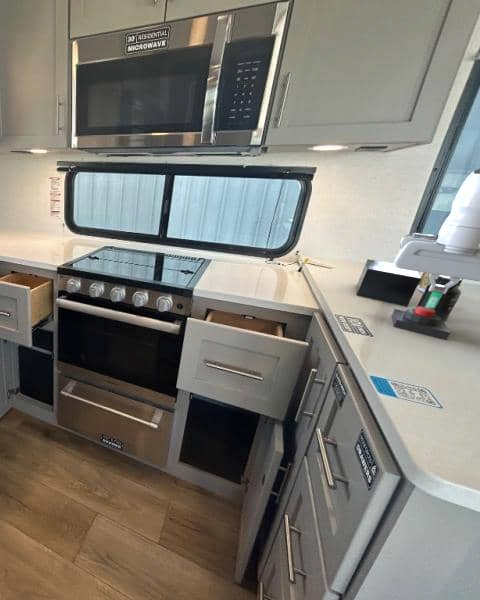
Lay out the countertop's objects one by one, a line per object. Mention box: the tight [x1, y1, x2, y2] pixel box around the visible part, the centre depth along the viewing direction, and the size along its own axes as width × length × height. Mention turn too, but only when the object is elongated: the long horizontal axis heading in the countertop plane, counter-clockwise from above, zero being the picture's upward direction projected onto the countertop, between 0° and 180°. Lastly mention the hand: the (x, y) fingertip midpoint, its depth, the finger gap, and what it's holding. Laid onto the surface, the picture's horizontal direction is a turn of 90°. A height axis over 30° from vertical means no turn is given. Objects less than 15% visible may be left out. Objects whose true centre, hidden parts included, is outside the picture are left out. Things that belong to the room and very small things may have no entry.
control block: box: [391, 308, 451, 341], centre depth 87 cm, size 10×10×4 cm
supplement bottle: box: [415, 275, 463, 321], centre depth 94 cm, size 7×7×12 cm
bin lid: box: [366, 259, 422, 281], centre depth 107 cm, size 16×13×1 cm
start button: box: [414, 306, 436, 318], centre depth 86 cm, size 4×4×2 cm
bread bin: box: [355, 261, 420, 308], centre depth 109 cm, size 16×13×9 cm
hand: (436, 292), depth 84 cm, fingers closed
